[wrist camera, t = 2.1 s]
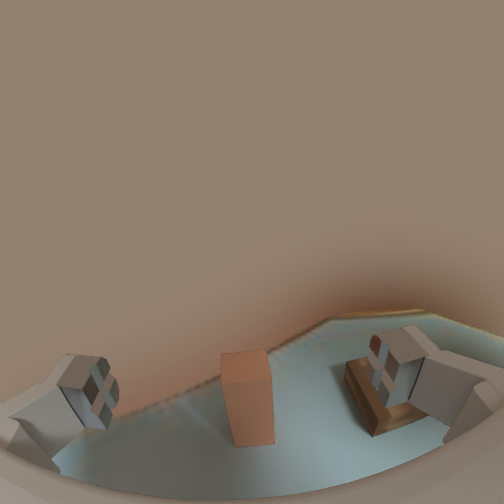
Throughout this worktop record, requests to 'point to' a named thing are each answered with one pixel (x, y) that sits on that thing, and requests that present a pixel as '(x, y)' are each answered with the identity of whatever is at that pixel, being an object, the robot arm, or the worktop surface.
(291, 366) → the worktop surface
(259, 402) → the salmon orange rectangular block
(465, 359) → the robot arm
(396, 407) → the walnut well
